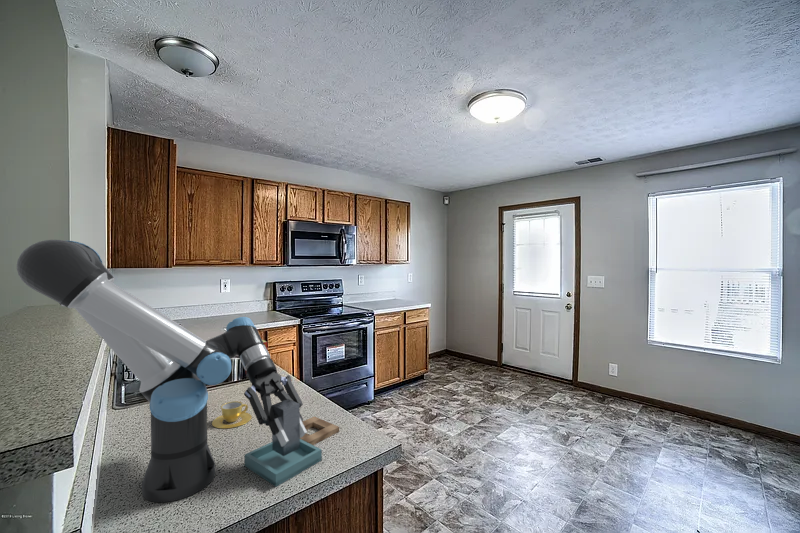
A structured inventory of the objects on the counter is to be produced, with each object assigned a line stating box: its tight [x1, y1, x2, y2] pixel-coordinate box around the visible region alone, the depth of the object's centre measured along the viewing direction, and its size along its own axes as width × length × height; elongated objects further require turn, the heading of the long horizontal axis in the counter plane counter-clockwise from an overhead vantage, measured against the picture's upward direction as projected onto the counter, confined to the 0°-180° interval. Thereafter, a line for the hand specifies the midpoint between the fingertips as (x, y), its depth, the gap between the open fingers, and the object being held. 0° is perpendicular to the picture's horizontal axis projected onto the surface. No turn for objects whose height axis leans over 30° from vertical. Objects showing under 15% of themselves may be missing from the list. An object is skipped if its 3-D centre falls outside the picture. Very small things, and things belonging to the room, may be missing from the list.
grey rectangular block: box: [271, 399, 301, 456], centre depth 95 cm, size 5×5×12 cm
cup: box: [211, 400, 253, 429], centre depth 119 cm, size 12×12×5 cm
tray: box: [243, 439, 323, 488], centre depth 95 cm, size 14×14×3 cm
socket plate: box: [300, 416, 340, 446], centre depth 111 cm, size 12×12×2 cm
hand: (294, 439), depth 93 cm, fingers closed on grey rectangular block, 5 cm apart
